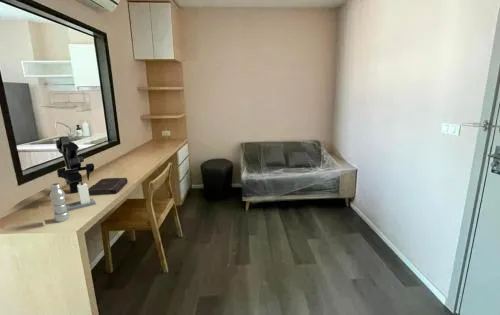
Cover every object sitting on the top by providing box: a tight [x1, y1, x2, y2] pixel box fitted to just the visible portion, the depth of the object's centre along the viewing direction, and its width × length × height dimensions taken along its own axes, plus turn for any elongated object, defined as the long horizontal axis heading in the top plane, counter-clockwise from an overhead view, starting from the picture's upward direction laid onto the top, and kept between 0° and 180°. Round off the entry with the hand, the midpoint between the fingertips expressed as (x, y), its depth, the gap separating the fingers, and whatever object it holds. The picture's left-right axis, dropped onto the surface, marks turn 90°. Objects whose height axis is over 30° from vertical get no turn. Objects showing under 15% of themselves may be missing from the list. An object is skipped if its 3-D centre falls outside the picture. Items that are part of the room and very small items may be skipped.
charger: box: [77, 181, 91, 205], centre depth 157 cm, size 4×4×14 cm
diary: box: [88, 177, 129, 196], centre depth 185 cm, size 19×25×5 cm
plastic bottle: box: [49, 182, 70, 223], centre depth 138 cm, size 6×7×20 cm
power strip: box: [66, 198, 97, 212], centre depth 156 cm, size 16×8×3 cm, turn 131°
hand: (79, 181), depth 161 cm, fingers open, 9 cm apart
